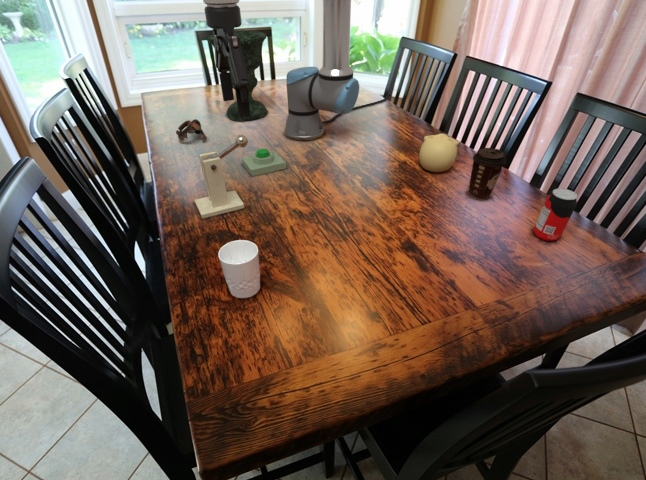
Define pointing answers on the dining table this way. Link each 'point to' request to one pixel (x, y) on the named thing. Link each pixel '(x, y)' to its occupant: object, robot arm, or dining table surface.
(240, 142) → the switch lever
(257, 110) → the goblet
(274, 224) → the dining table surface
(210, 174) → the switch bracket
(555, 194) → the beverage can
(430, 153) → the sculpture
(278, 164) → the button block
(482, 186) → the coffee cup
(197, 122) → the dark curved strip cluster
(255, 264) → the white cup
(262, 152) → the light button
